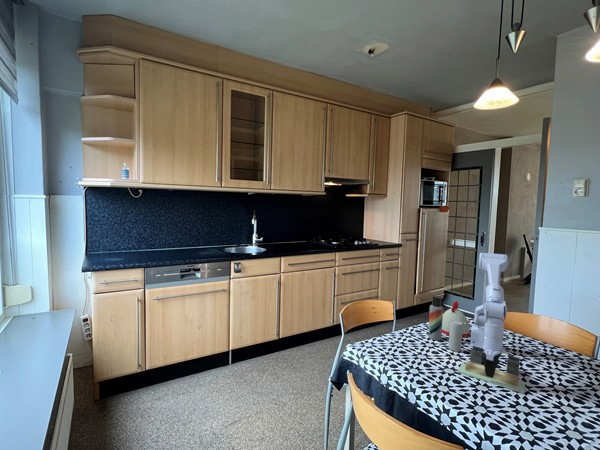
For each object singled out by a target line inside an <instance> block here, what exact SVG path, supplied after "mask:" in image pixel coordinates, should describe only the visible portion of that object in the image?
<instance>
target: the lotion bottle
mask: <svg viewBox="0 0 600 450" xmlns="http://www.w3.org/2000/svg"><path fill="white" fill-rule="evenodd" d="M431 300H432V301H431V302H432V303H431V304H430V305H429V318H428V334H427V335H428V339H430V340H433V341H441V340H442V335H443V333H442V320H443V314H444V307H443V306H442V297H441V296H437V295H433V296H432V299H431Z"/></svg>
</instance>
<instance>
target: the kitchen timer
mask: <svg viewBox="0 0 600 450" xmlns="http://www.w3.org/2000/svg"><path fill="white" fill-rule="evenodd" d="M451 321H459V322H461V323H462V325H463V328H462V338H468V337H469V336H470V334H471V330H470V320H469V319H467V317H466V316H465V314H464V313H463V312H462V311H461V309H459V302H458V300H457V301H456V300H455V301H454V302H453V305H452V307H451V308H449V309H447V310H446V311H444V312H443V320H442V335H443V334H444V335H446V336H449V333H450V322H451Z"/></svg>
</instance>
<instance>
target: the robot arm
mask: <svg viewBox="0 0 600 450" xmlns="http://www.w3.org/2000/svg"><path fill="white" fill-rule="evenodd" d="M508 266H509V256H508V255H507V254H502V253H490V252H489V253H488V252H480V253H479V258H478V269H480V270H483V272H484V282H483V283H484V285H483V295H482V296H483V297H482V298H483V299H482V304H481V305H479V306H476V307H475V310H474V317H473V318H474V320H473V321H474V324H472V326H471V330H470V345H469V346H470V347H472V348H473V346H476V347H480V348H483V352H485V354H484V353H483V354H482V355H481V359H482V363H483V366H484V367H485V373H486V376H488V377H491V378H493V377H494V373H495V370H496V368H498V366H499V364H500V362H501V360H500V357H501V355H503V354H506V353H507V350H506V349H504V348H503V342H504V328H505V320H506V319H507V313H508V312H507V310H508V309H507V304H506V301H505V296H504V294H505V292H504V290H505V289H504V287H503V286H501V273H503V272H506V270H507V269H508Z"/></svg>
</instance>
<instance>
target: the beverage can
mask: <svg viewBox="0 0 600 450" xmlns="http://www.w3.org/2000/svg"><path fill="white" fill-rule="evenodd" d="M462 328H463V325H462V323H461V322H459V321H451V322H450V333H449V335H448V336H449V338H448V350H450V351H452V352H455V353H459V352H461V351H462V343H463V342H462V340H463V339H462V338H463V337H462Z"/></svg>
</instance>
